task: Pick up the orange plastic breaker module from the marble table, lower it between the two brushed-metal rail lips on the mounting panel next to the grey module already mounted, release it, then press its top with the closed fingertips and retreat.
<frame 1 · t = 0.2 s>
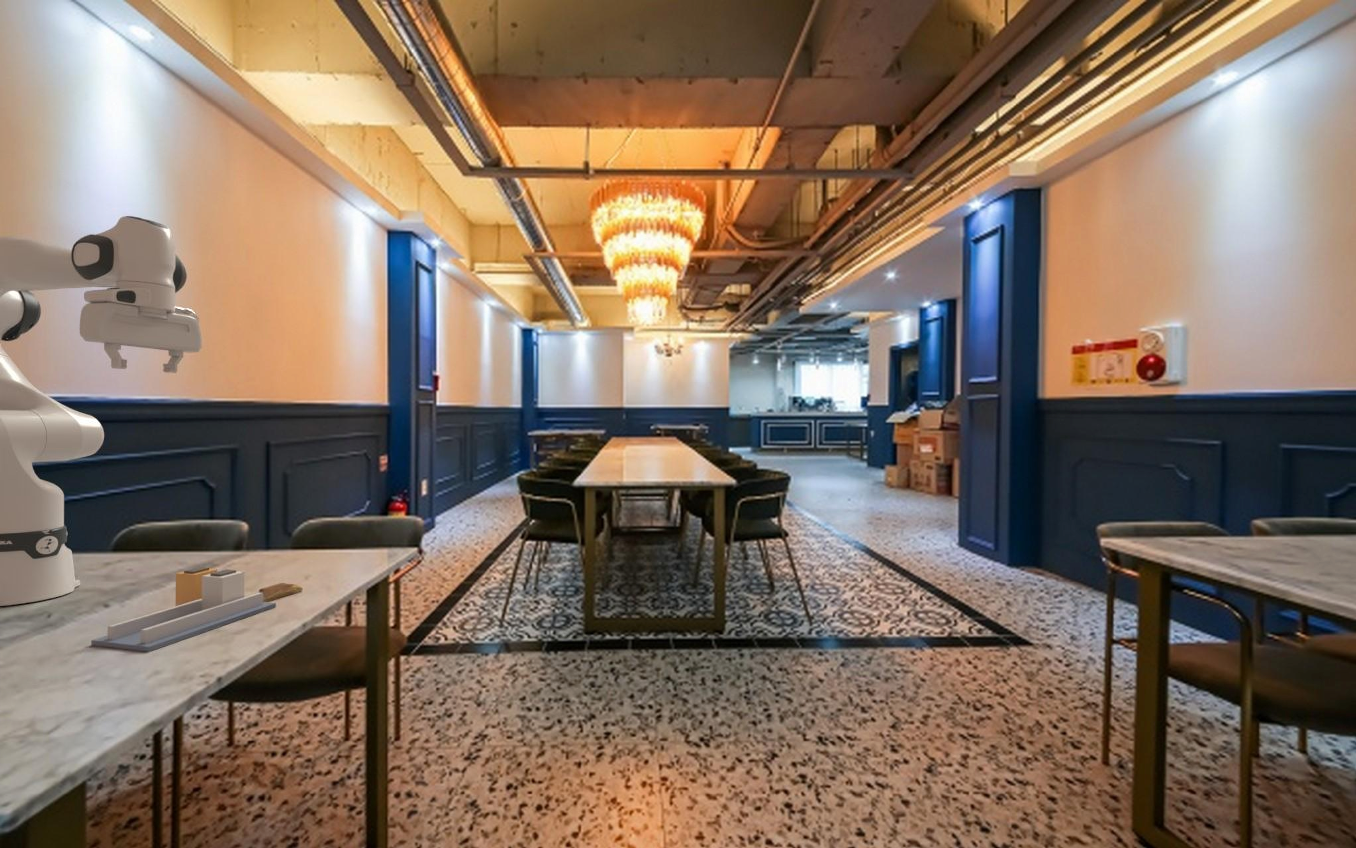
hand: (145, 370, 119), 47 cm above the table, fingers open, 8 cm apart
shard: (280, 598, 129), on the table
module: (196, 605, 121), on the table
rail panel: (192, 624, 110), on the table
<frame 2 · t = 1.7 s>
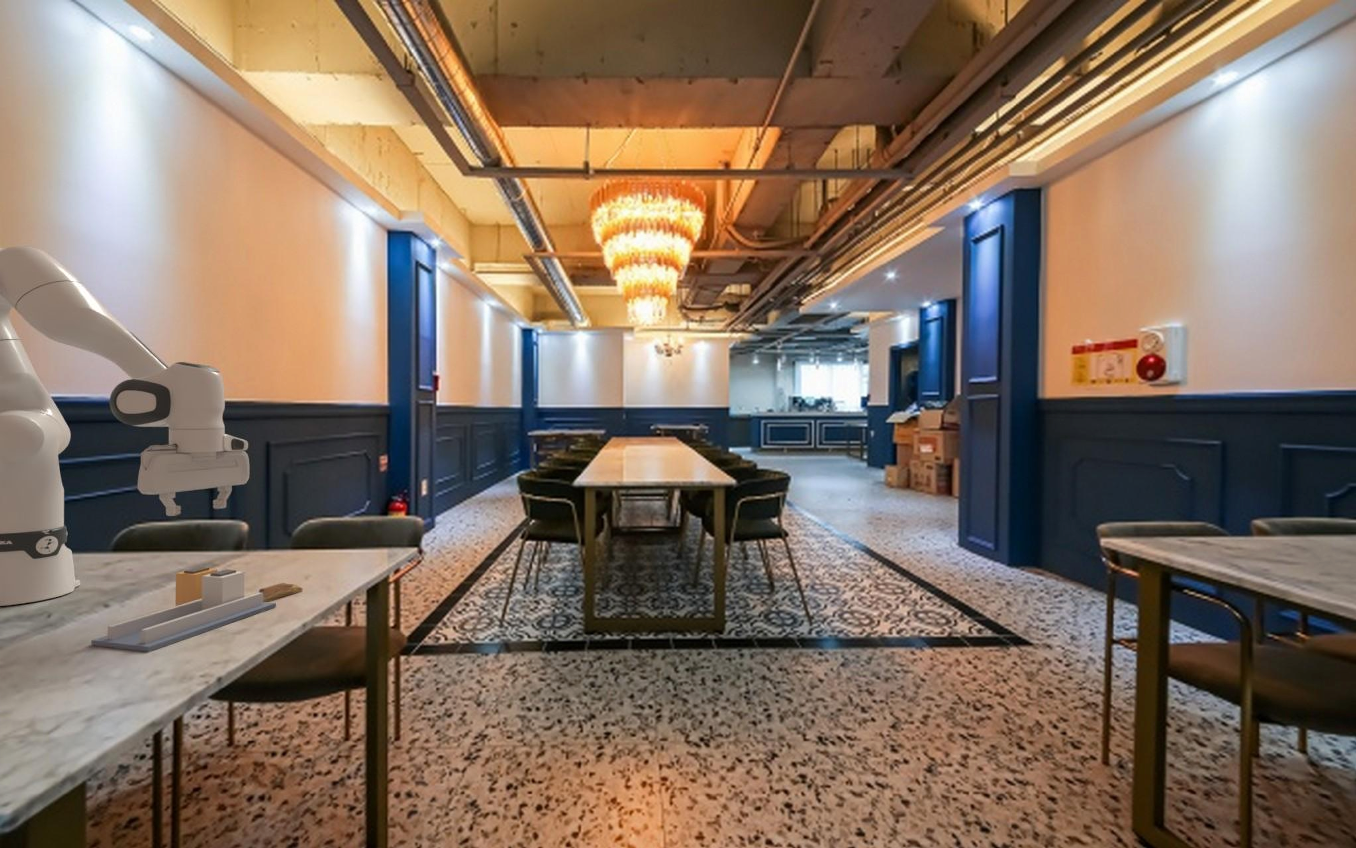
hand: (197, 511, 121), 19 cm above the table, fingers open, 8 cm apart
nothing on the table moved.
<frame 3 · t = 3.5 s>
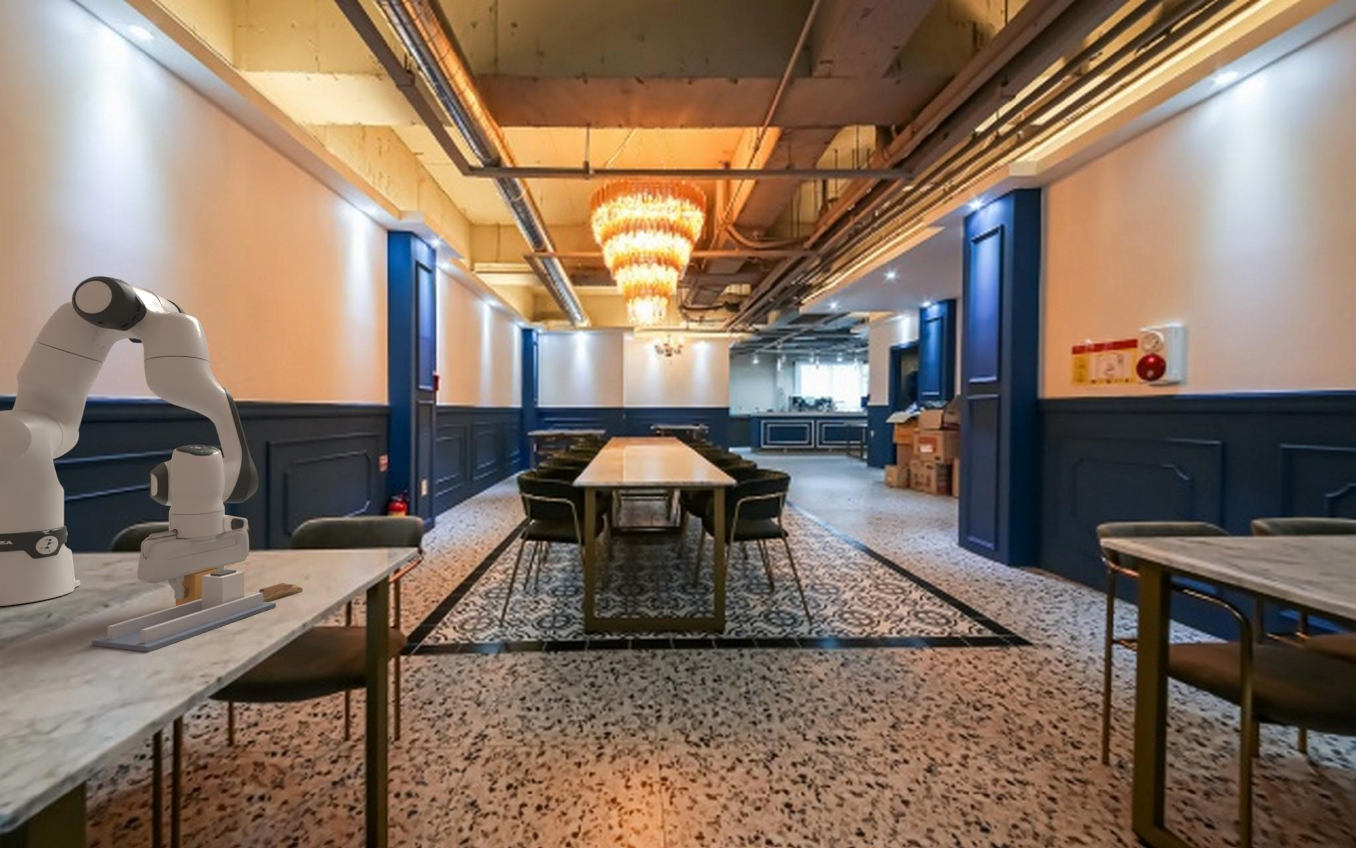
hand: (196, 594, 121), 2 cm above the table, fingers closed on module, 5 cm apart
module: (196, 605, 121), on the table, touching gripper
everything else where it was.
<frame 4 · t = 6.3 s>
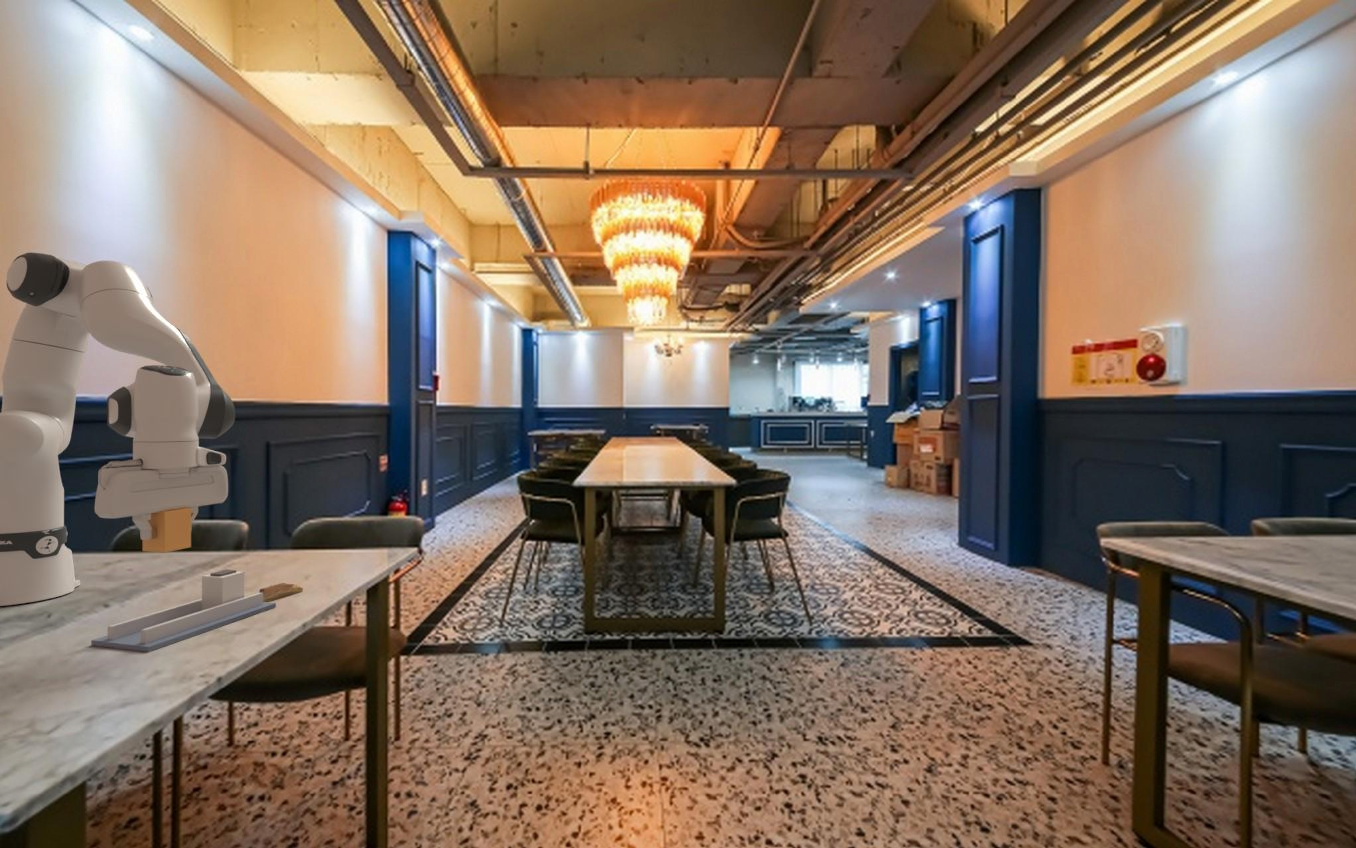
hand: (166, 536, 106), 17 cm above the table, fingers closed on module, 4 cm apart
module: (167, 549, 106), point 15 cm above the table, touching gripper
everything else where it was.
when the fingers open (5 cm above the table, at t = 8.9 s): module drops 2 cm, resting on rail panel.
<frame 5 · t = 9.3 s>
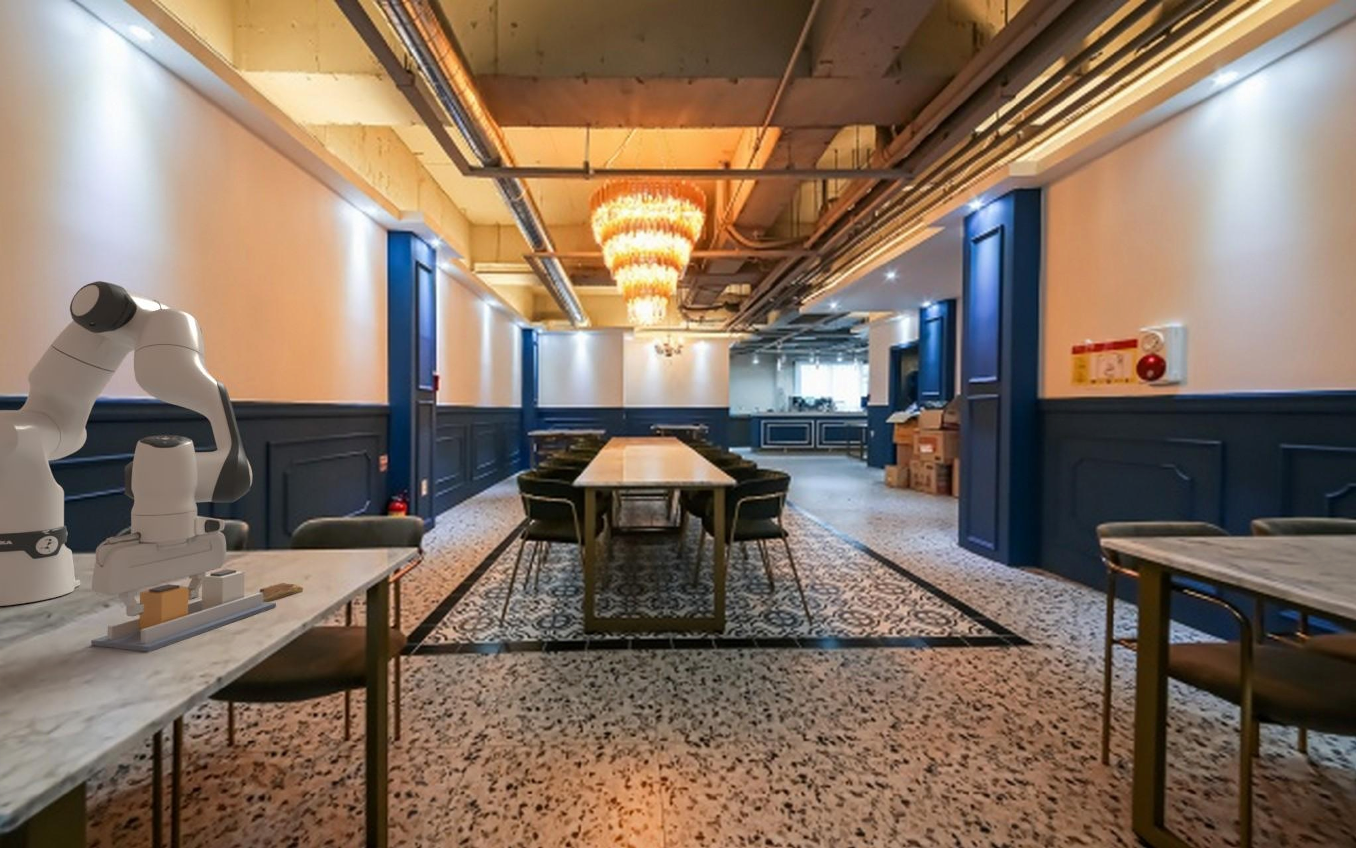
hand: (164, 606, 106), 5 cm above the table, fingers open, 8 cm apart
module: (164, 629, 106), point 1 cm above the table, touching rail panel
everything else where it was.
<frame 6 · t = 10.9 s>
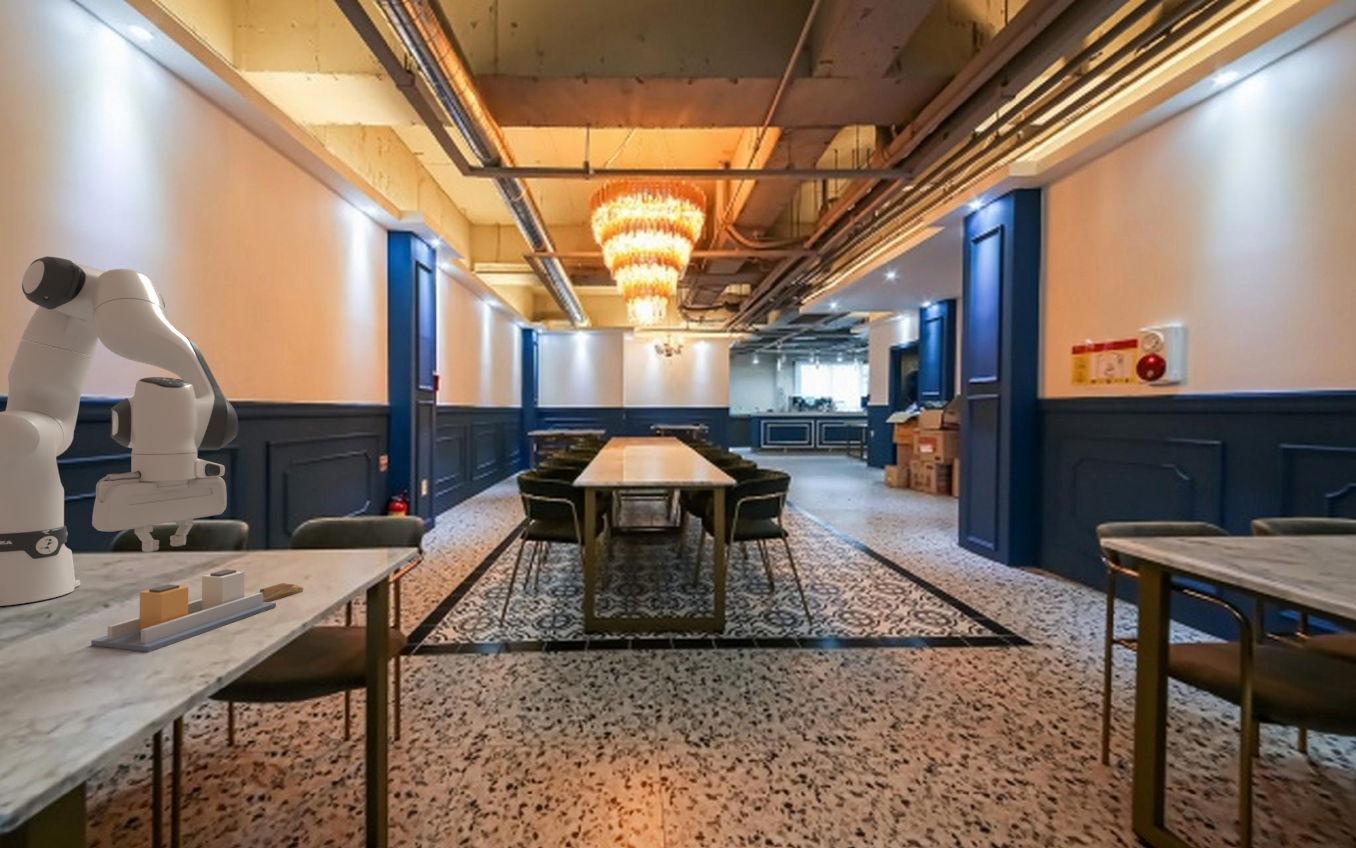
hand: (164, 548, 105), 15 cm above the table, fingers open, 3 cm apart
nothing on the table moved.
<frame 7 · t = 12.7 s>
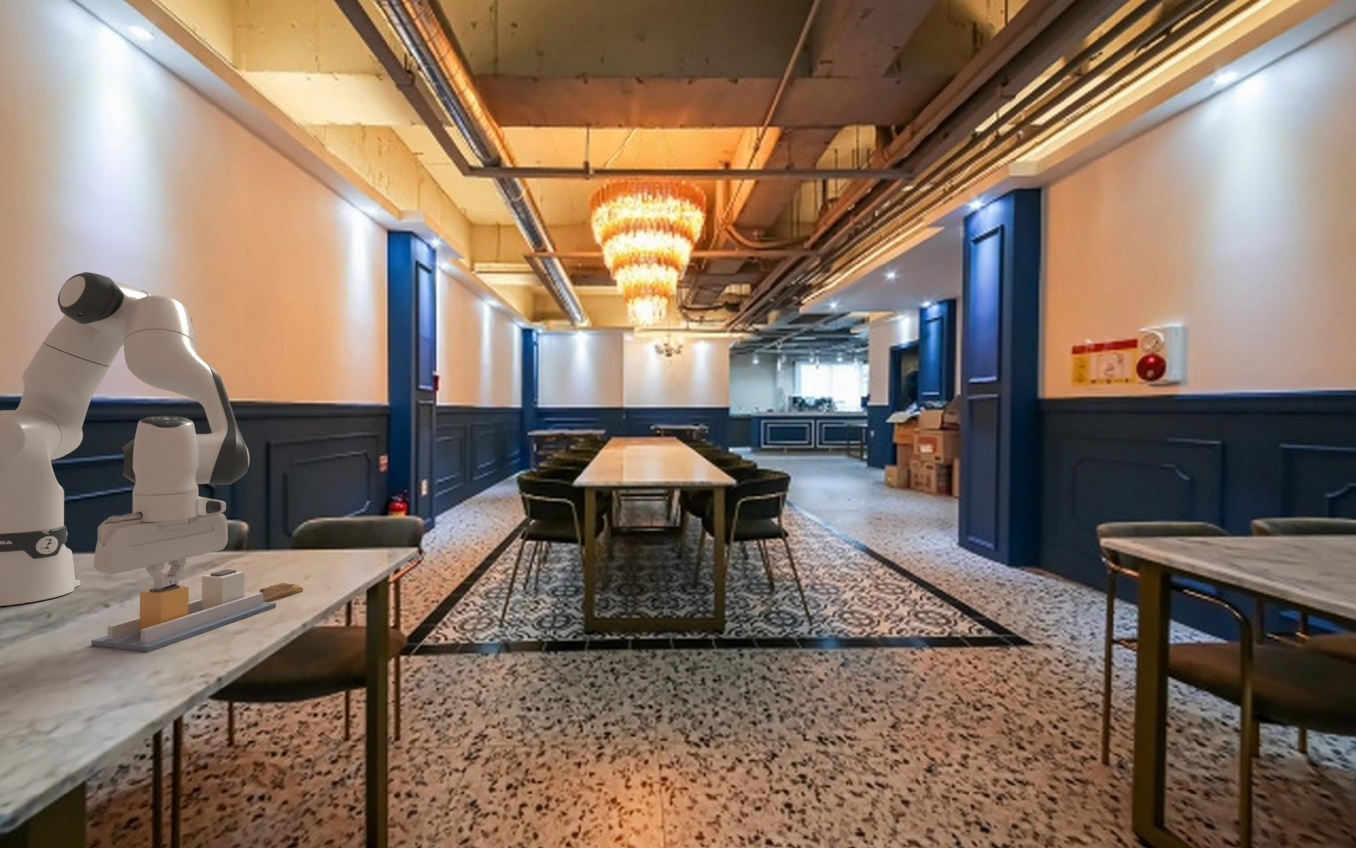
hand: (166, 586, 106), 8 cm above the table, fingers closed, pressing on module
module: (164, 629, 106), point 1 cm above the table, touching gripper, rail panel
everything else where it was.
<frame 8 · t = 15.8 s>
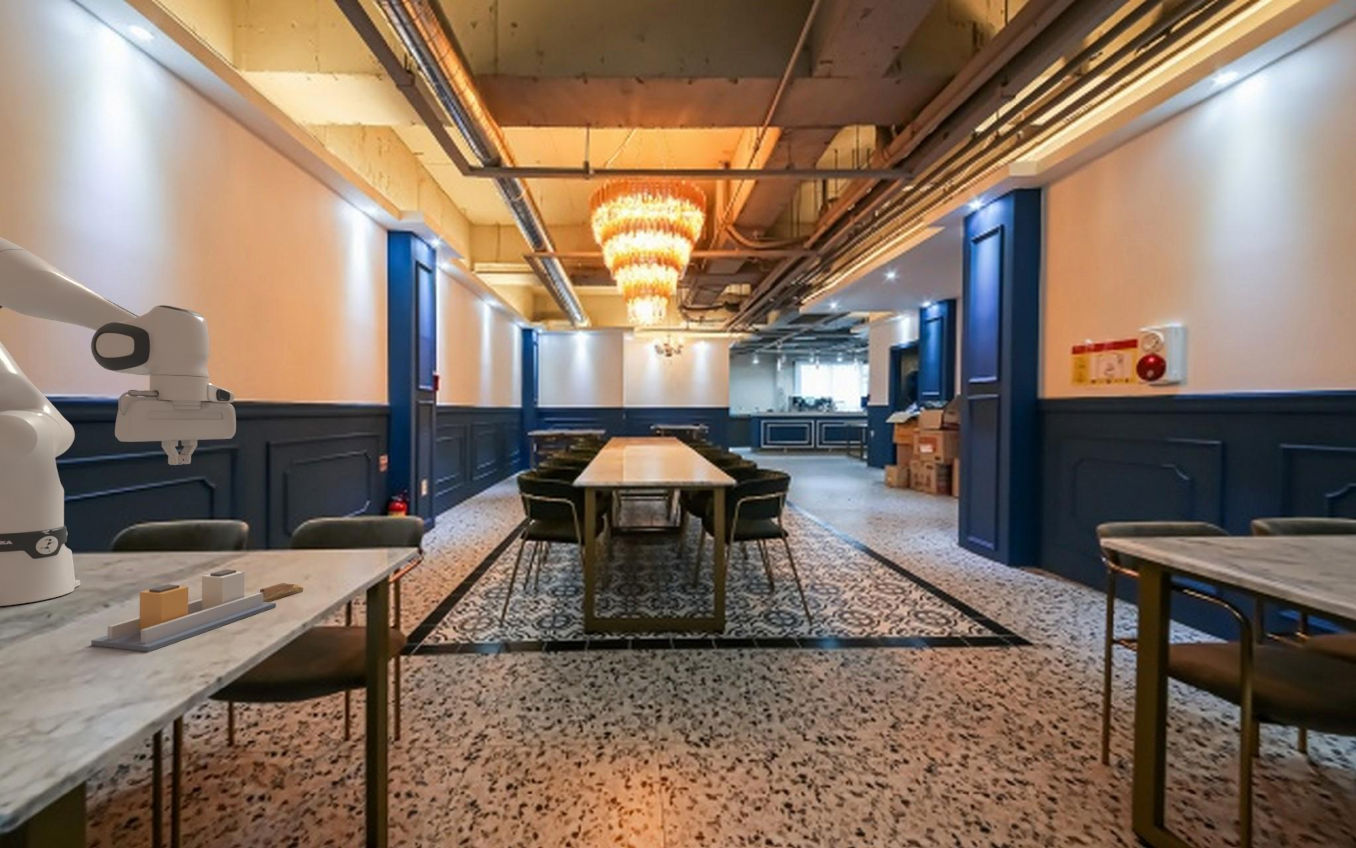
hand: (179, 464, 115), 29 cm above the table, fingers closed
module: (164, 629, 106), point 1 cm above the table, touching rail panel
everything else where it was.
at the end: module 0.0 cm from the target spot on the rail panel, point 0.8 cm above the rail panel's base; module tilted 0°; the gripper is holding nothing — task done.
